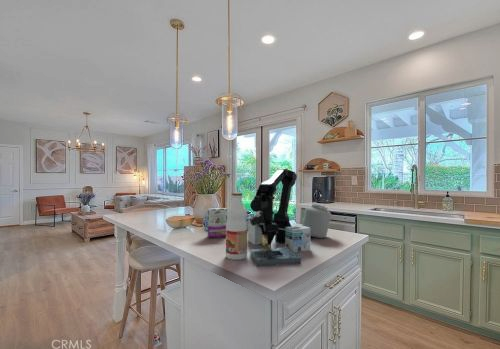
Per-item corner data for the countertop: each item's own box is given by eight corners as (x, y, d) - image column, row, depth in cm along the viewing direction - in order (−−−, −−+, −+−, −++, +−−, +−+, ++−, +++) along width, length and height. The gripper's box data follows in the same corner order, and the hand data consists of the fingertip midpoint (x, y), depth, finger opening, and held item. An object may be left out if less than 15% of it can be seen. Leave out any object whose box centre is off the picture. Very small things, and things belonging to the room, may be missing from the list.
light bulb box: (293, 253, 109) (293, 229, 109) (284, 249, 115) (284, 226, 115) (311, 250, 114) (311, 227, 114) (301, 246, 120) (301, 224, 120)
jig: (288, 252, 110) (288, 247, 110) (300, 263, 96) (301, 257, 96) (250, 254, 106) (250, 249, 106) (257, 266, 93) (257, 260, 93)
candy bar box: (226, 235, 142) (226, 207, 142) (227, 237, 137) (227, 208, 137) (207, 236, 139) (207, 208, 139) (207, 238, 134) (208, 209, 135)
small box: (265, 243, 125) (265, 218, 125) (254, 244, 122) (254, 219, 122) (258, 239, 132) (258, 216, 132) (247, 240, 130) (247, 216, 130)
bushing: (269, 248, 116) (269, 233, 117) (272, 251, 112) (272, 236, 112) (261, 248, 116) (261, 234, 116) (263, 251, 111) (263, 236, 111)
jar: (334, 235, 144) (334, 193, 144) (335, 241, 130) (335, 195, 130) (302, 232, 149) (302, 192, 149) (300, 238, 135) (300, 194, 135)
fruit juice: (248, 260, 100) (248, 193, 100) (225, 260, 99) (226, 193, 99) (246, 252, 109) (246, 192, 109) (225, 253, 108) (226, 192, 108)
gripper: (247, 207, 122) (246, 237, 122) (254, 212, 103) (254, 248, 103) (268, 206, 124) (267, 236, 124) (279, 212, 105) (278, 247, 105)
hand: (266, 241), depth 114 cm, fingers open, 9 cm apart
